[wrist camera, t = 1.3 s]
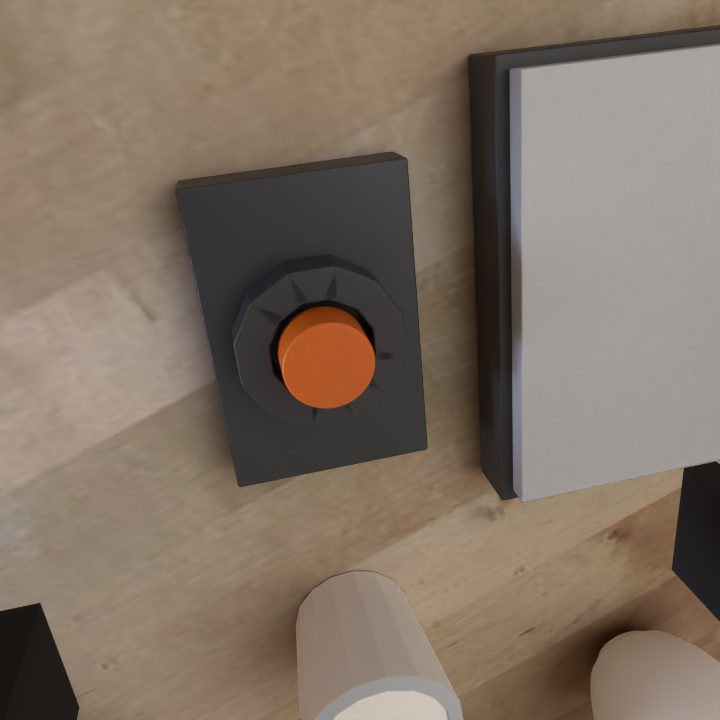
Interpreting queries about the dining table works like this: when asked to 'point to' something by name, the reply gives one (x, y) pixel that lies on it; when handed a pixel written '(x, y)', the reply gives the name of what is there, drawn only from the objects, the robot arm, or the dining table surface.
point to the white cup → (367, 655)
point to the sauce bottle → (654, 679)
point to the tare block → (307, 306)
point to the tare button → (325, 357)
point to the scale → (597, 259)
